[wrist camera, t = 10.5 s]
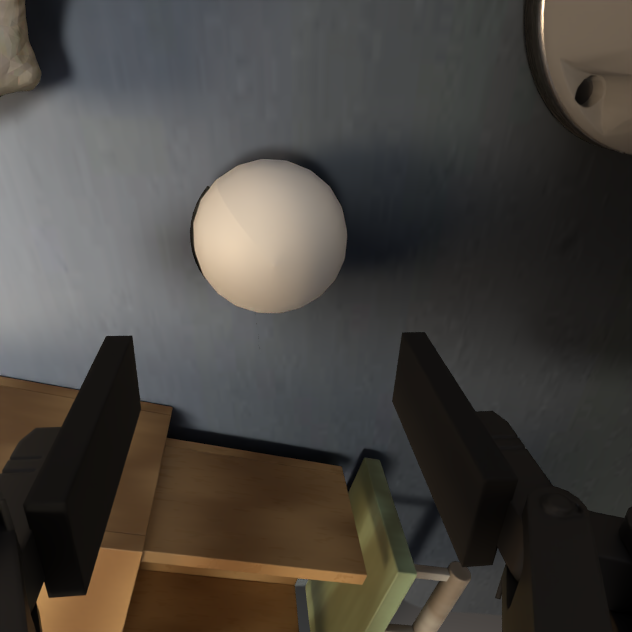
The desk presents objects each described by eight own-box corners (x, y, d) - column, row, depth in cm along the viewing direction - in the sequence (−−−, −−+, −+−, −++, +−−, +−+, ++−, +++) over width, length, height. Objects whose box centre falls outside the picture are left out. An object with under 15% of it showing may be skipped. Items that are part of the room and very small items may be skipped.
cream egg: (214, 126, 26) (204, 150, 19) (353, 170, 27) (386, 206, 21) (174, 302, 30) (154, 373, 23) (298, 330, 31) (311, 403, 25)
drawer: (460, 473, 37) (518, 586, 29) (391, 595, 43) (424, 718, 35) (132, 417, 32) (95, 538, 24) (101, 566, 37) (62, 704, 29)
